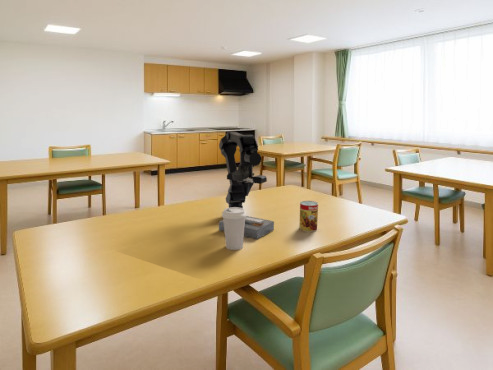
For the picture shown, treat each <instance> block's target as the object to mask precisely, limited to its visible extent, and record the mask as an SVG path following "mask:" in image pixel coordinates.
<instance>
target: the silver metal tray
mask: <svg viewBox="0 0 493 370" xmlns="http://www.w3.org/2000/svg"><path fill="white" fill-rule="evenodd" d="M246 217H249V218H254V219H259V220H264V222H263V223H261V224H258V223H253V222H248V221H245V226H244V237H246V238H251V239H253V240H258V239H260V238H262V237H264V236H265V235H268V234H269V233H271V232H273V231H274V230H275V221H274V220H269V219H263V218H259V217H254V216H249V215H247V216H246ZM218 231H221V232H224V233H225V231H224V221H223V219H221V220H220V221H218Z"/></svg>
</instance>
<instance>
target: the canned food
mask: <svg viewBox="0 0 493 370" xmlns="http://www.w3.org/2000/svg"><path fill="white" fill-rule="evenodd" d="M318 213H319V203H318V202H317V201H314V200H302V201H300V203H299V230H300V231H302V232H316V231H317V230H318V218H319V217H318V216H319V215H318Z"/></svg>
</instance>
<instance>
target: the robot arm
mask: <svg viewBox="0 0 493 370" xmlns="http://www.w3.org/2000/svg"><path fill="white" fill-rule="evenodd" d="M218 148H219V150H220V153H221V154H220V155H222V156H223V157H224V158H225V164H226V170H227V175H226V180H229V187H228V189H227V194H226V197H225V202H226V203H227V204H228V208H230V207H239V208H243V209H244V206H243V204H245V202H246V197H248V196H249V194H250V192H251V190H252V188H253V185H254V184H258V185H259V184H264V183H266V182H267V181H268V179H267V176H266V175H263V174H258V175H255V173H254V171H253V169H254V167H256V166H259V165H260V164H261V162H262V156H261V154H260V153H258V151H259V145H258V142H257V140H256V138H255V136H254V135H253V134H243V133H239V132H237V131H227V132H226V133H225V135H224V136H223V137H222V138H220V141H219V144H218ZM237 148H239V150H238V152H239V164H238V166H237V164H236V158H235V157H236V156H235V154H236V151H237Z"/></svg>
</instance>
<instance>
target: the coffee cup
mask: <svg viewBox="0 0 493 370" xmlns="http://www.w3.org/2000/svg"><path fill="white" fill-rule="evenodd" d="M246 216H248V215H247V212H246V211H245V209H244V207H243V208H239V207H230V208H229V207H226V208H224V209H223V212H221V217H222V220H223V221H224V231H225V232H224V231H223V232H224V239H225V248H226V249H227V250H230V251H239V250H241V249H243V247H244V237H245V236H244V226H245V217H246Z"/></svg>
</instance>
